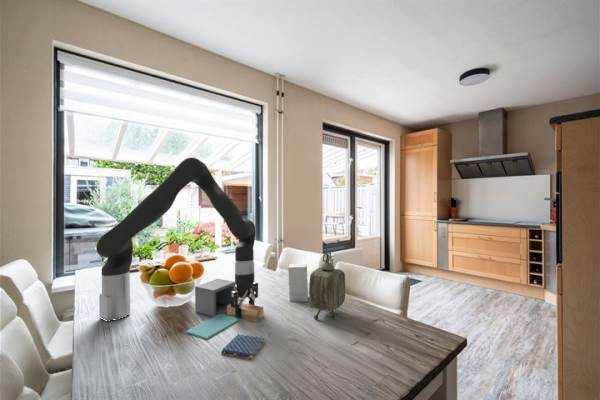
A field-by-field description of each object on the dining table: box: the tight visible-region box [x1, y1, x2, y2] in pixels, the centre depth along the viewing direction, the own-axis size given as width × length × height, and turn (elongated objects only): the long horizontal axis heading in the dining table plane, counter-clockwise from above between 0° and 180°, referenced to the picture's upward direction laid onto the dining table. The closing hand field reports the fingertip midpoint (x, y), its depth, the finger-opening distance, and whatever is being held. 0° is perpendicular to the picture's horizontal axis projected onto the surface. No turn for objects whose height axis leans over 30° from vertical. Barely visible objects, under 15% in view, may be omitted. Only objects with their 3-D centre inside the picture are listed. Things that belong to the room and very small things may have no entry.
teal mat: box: [185, 313, 241, 340], centre depth 97 cm, size 16×10×1 cm, turn 151°
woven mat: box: [220, 333, 266, 360], centre depth 82 cm, size 10×11×2 cm
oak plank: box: [226, 301, 265, 323], centre depth 105 cm, size 5×14×4 cm, turn 64°
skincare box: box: [287, 263, 309, 302], centre depth 122 cm, size 8×7×16 cm
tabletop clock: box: [308, 250, 346, 320], centre depth 104 cm, size 14×9×25 cm, turn 149°
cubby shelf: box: [194, 278, 236, 317], centre depth 113 cm, size 12×10×10 cm
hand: (245, 313), depth 105 cm, fingers open, 7 cm apart
